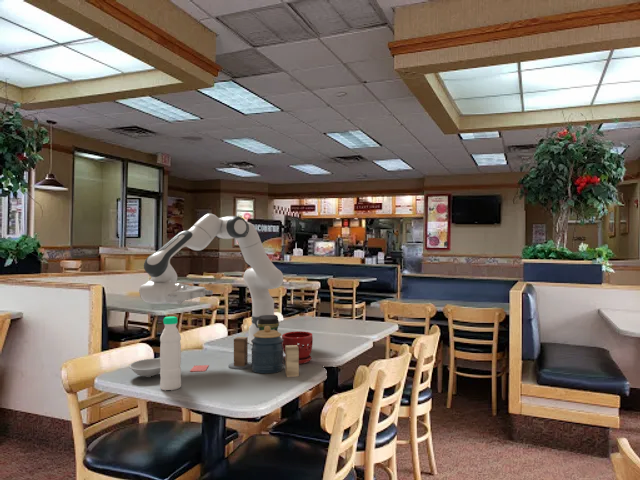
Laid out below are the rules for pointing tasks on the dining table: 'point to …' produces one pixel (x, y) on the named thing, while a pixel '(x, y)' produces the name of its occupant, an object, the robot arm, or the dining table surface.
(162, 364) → the water bottle
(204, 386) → the dining table surface
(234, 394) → the dining table surface
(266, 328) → the canister
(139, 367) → the dish
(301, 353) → the plant pot
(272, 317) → the coffee jar
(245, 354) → the walnut block
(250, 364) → the slate coaster
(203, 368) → the menu card
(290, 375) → the maple block
